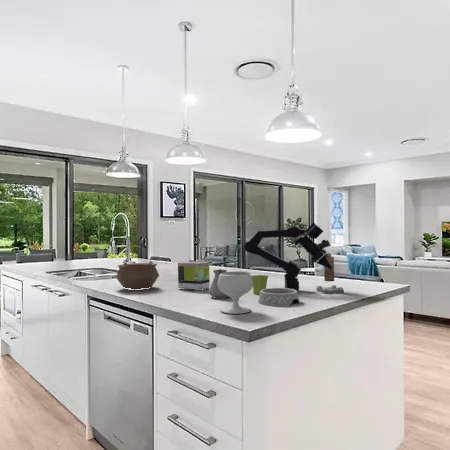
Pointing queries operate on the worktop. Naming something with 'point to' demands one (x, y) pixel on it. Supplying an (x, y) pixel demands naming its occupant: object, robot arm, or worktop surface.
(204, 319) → the worktop surface
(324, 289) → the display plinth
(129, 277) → the brown faceted rounded vessel
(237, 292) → the chalice
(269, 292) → the dog bowl
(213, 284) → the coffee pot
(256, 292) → the plant pot
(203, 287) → the tea box
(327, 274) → the pepper mill
